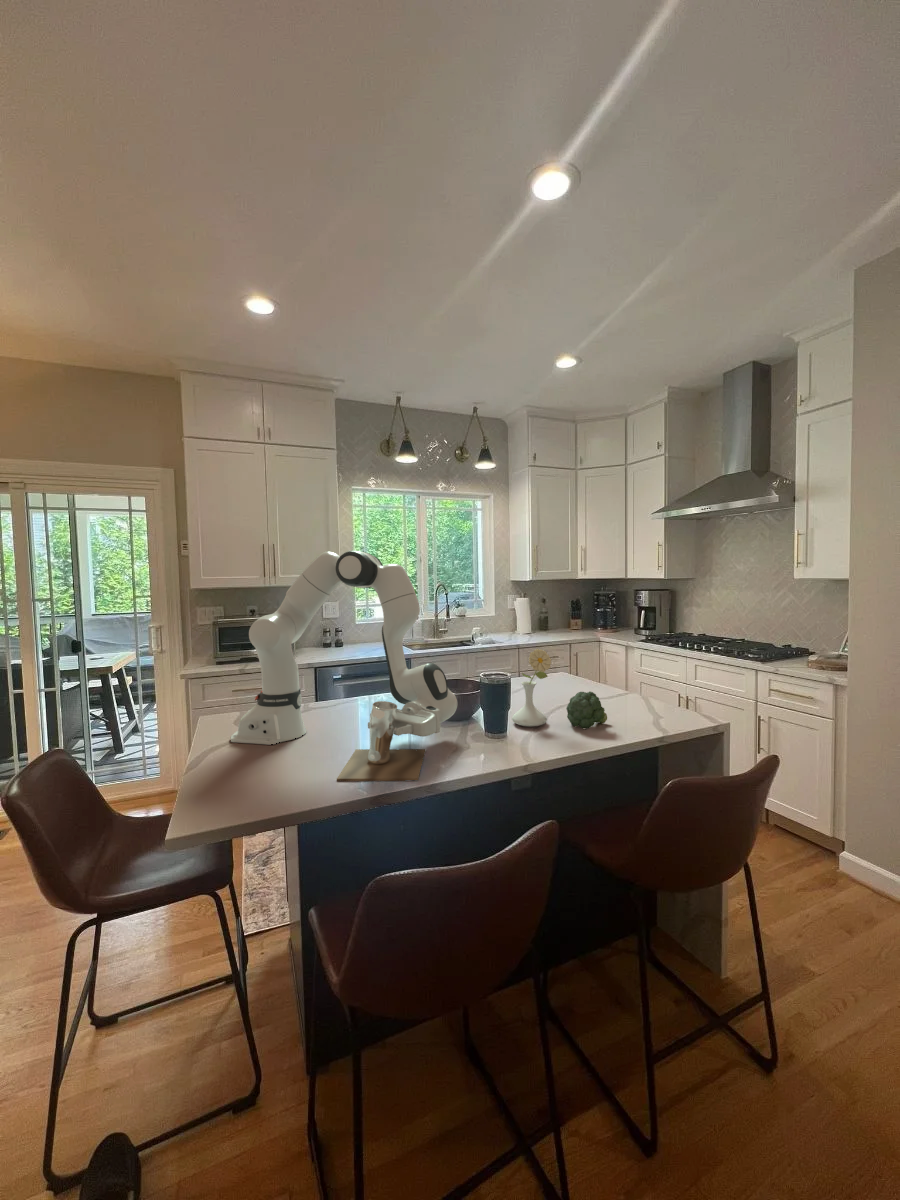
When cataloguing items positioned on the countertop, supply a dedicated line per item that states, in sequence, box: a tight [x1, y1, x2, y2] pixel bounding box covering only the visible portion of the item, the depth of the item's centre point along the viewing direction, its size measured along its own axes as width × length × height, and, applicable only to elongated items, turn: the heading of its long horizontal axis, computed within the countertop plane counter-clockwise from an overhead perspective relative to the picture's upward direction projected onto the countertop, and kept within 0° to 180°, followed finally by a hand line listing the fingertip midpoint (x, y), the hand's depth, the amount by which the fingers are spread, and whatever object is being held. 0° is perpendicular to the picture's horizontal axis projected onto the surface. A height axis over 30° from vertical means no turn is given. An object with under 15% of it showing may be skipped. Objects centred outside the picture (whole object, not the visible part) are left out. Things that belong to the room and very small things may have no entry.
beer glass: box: [367, 700, 398, 764], centre depth 132 cm, size 7×7×15 cm
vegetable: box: [566, 691, 608, 729], centre depth 159 cm, size 12×13×15 cm
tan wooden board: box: [336, 748, 426, 782], centre depth 131 cm, size 20×20×1 cm
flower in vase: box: [511, 648, 552, 727], centre depth 162 cm, size 13×11×25 cm
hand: (382, 729), depth 130 cm, fingers open, 8 cm apart
